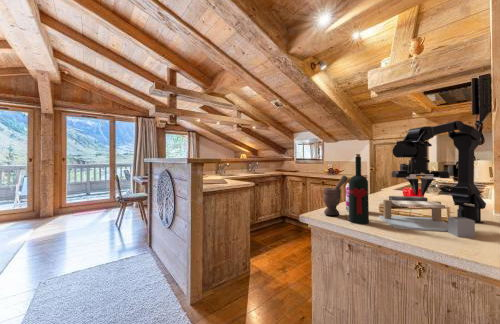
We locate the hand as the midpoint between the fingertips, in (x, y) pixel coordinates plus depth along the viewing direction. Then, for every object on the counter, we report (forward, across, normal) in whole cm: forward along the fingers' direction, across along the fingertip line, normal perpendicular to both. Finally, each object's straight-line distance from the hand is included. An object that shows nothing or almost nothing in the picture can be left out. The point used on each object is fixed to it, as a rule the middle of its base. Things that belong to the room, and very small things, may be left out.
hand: (419, 195), depth 91 cm
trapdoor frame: (+12, 0, -1) cm, 13 cm away
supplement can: (+13, +20, -23) cm, 33 cm away
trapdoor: (+4, 0, -7) cm, 8 cm away
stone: (+13, -8, +11) cm, 18 cm away
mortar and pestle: (+13, +31, -14) cm, 36 cm away
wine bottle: (+13, +23, 0) cm, 26 cm away
